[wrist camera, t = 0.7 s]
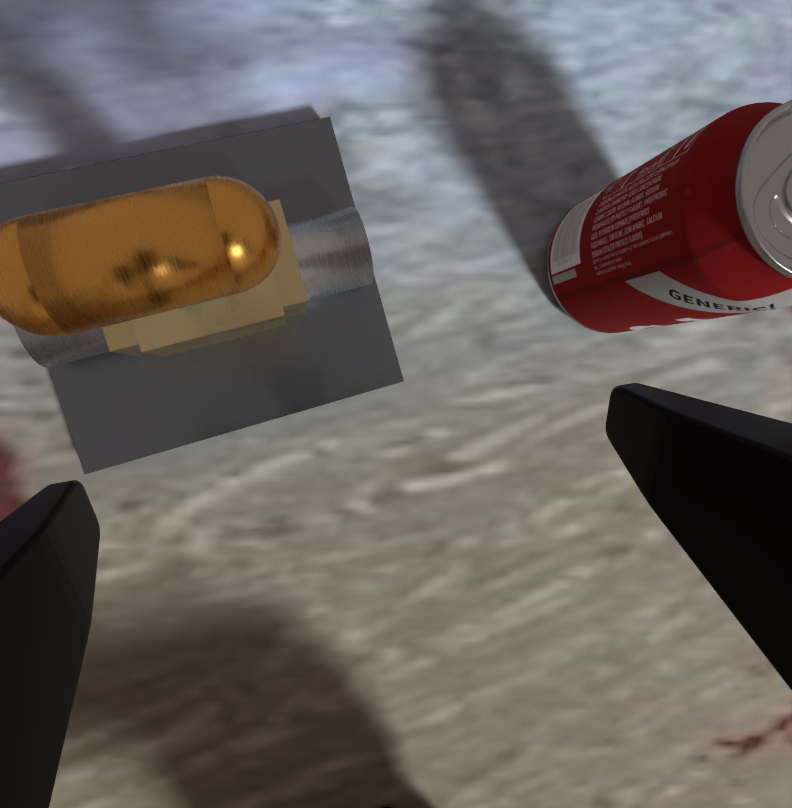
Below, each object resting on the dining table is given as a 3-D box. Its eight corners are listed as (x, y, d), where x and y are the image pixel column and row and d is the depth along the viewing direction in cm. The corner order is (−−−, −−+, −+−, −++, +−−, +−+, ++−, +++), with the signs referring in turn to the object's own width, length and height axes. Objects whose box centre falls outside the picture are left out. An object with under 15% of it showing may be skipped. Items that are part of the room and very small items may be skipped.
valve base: (398, 381, 27) (423, 380, 22) (94, 469, 24) (45, 491, 20) (327, 129, 26) (337, 69, 21) (2, 195, 23) (-74, 146, 18)
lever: (277, 280, 21) (298, 278, 10) (126, 318, 20) (-16, 357, 9) (260, 219, 20) (263, 153, 10) (103, 255, 19) (-75, 223, 9)
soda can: (515, 283, 28) (683, 210, 16) (586, 173, 28) (799, 24, 17) (617, 360, 29) (842, 345, 17) (683, 253, 30) (946, 168, 18)
